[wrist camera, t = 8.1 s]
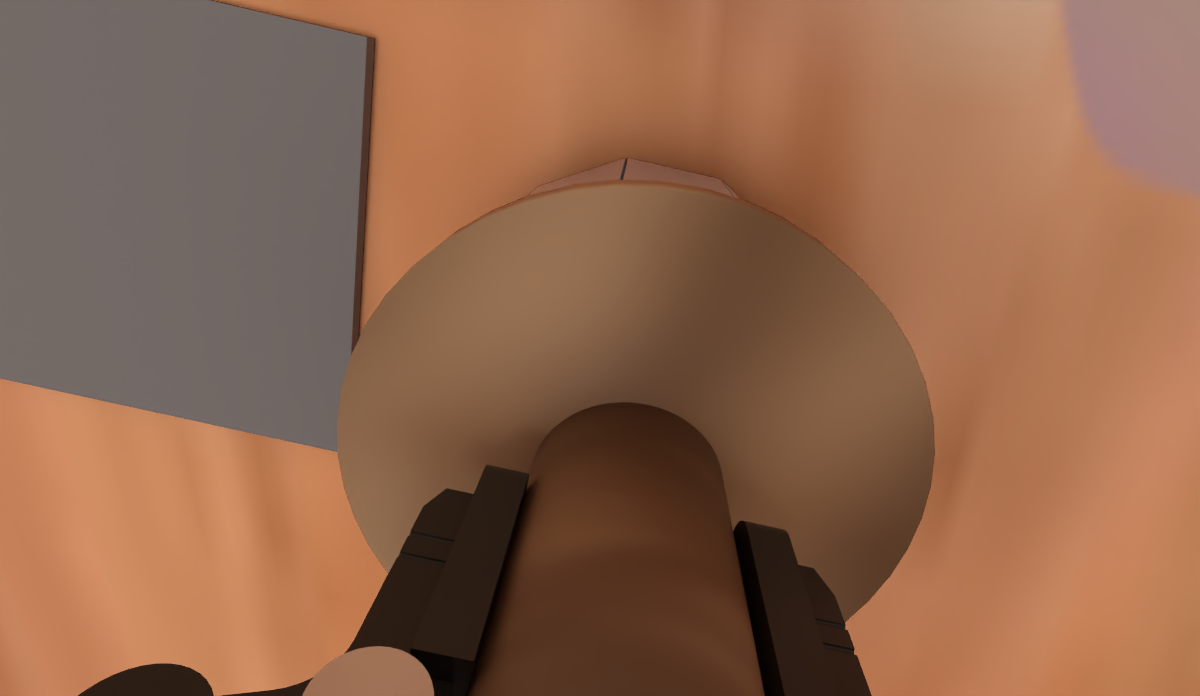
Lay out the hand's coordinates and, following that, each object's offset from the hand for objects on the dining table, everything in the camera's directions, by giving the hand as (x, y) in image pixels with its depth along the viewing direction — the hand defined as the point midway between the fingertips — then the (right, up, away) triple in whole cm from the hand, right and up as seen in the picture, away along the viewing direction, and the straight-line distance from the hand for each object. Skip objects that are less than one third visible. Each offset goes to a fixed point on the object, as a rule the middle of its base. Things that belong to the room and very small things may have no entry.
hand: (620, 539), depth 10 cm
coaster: (-14, +7, +8) cm, 18 cm away
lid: (0, +1, +2) cm, 2 cm away
